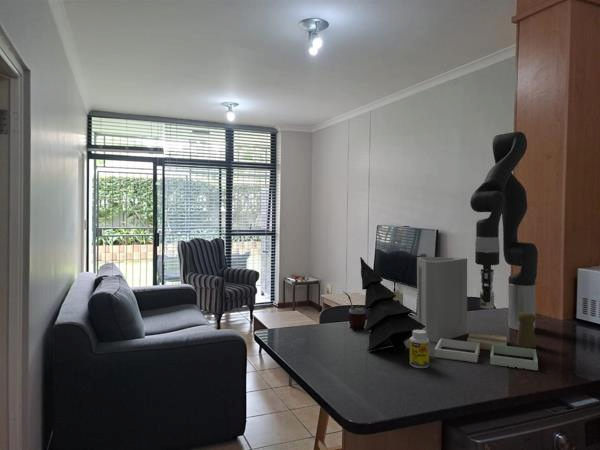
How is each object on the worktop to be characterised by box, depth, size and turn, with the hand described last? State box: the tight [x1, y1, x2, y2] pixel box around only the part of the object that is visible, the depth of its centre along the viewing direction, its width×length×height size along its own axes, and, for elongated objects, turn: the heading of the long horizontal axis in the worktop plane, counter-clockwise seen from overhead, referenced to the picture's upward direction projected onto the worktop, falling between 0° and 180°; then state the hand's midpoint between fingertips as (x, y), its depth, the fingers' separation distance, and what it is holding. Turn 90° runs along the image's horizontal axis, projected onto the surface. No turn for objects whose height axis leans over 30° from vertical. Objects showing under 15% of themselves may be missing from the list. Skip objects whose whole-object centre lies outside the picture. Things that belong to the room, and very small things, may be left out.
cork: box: [515, 312, 537, 349], centre depth 146 cm, size 6×6×11 cm
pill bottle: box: [479, 284, 495, 310], centre depth 147 cm, size 4×4×8 cm
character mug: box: [391, 290, 404, 305], centre depth 174 cm, size 11×7×13 cm, turn 131°
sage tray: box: [489, 344, 539, 371], centre depth 131 cm, size 12×12×2 cm
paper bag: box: [416, 256, 468, 344], centre depth 161 cm, size 19×15×28 cm
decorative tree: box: [359, 257, 426, 355], centre depth 146 cm, size 15×15×35 cm
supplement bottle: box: [409, 330, 430, 369], centre depth 128 cm, size 6×6×10 cm
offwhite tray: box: [434, 338, 481, 363], centre depth 138 cm, size 12×12×2 cm
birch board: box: [466, 332, 508, 351], centre depth 147 cm, size 12×12×2 cm
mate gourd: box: [343, 291, 367, 332], centre depth 169 cm, size 8×8×15 cm
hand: (487, 300), depth 147 cm, fingers closed on pill bottle, 4 cm apart
